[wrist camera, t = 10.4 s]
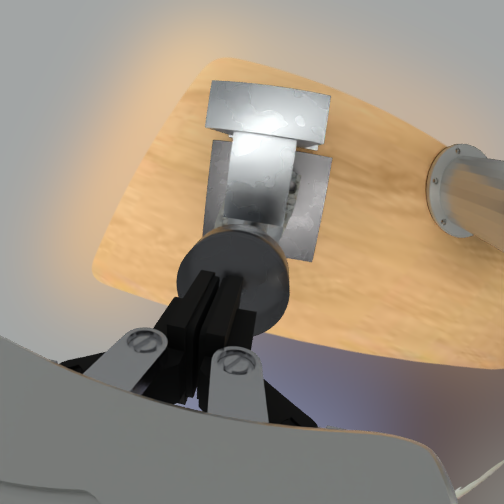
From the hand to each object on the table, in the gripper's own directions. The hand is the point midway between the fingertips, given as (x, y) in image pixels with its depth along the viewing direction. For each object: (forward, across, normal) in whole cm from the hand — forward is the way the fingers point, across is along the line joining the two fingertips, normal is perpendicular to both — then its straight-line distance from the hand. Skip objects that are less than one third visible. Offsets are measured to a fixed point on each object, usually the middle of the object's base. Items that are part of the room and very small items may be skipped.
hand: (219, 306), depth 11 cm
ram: (+14, 0, 0) cm, 14 cm away
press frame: (+25, -1, -2) cm, 25 cm away
